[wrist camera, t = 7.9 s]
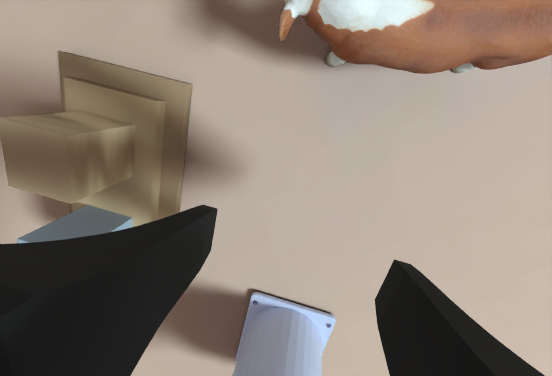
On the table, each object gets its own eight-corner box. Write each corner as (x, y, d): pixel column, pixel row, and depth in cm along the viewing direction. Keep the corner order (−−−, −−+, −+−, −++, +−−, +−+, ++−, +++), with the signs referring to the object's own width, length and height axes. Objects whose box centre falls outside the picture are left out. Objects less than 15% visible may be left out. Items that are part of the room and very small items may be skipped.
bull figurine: (282, -16, 16) (249, -112, 9) (513, 10, 15) (714, -77, 7) (273, 61, 18) (237, 37, 10) (481, 91, 16) (618, 89, 9)
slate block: (131, 256, 23) (78, 303, 18) (90, 244, 23) (25, 286, 18) (132, 217, 22) (74, 256, 16) (88, 204, 22) (17, 238, 17)
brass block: (133, 176, 20) (70, 204, 15) (86, 162, 20) (8, 185, 15) (135, 124, 19) (65, 136, 14) (84, 110, 19) (-3, 117, 14)
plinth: (172, 284, 26) (160, 298, 24) (80, 255, 27) (62, 267, 25) (192, 84, 19) (178, 83, 17) (68, 52, 20) (42, 48, 18)
